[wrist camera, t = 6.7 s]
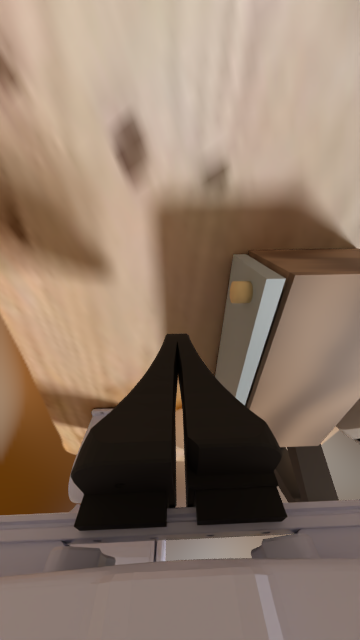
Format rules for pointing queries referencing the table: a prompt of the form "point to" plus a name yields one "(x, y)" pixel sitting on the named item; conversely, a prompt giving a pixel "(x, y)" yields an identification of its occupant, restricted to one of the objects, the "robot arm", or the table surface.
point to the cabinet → (309, 345)
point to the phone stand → (305, 475)
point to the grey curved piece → (351, 423)
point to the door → (246, 323)
